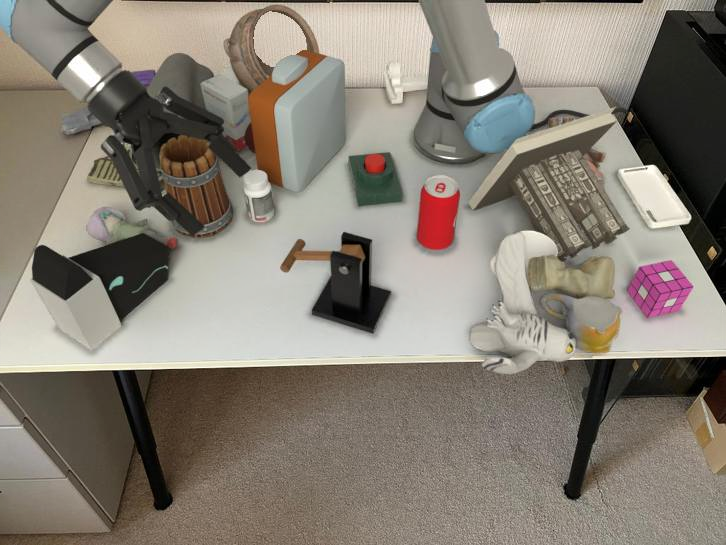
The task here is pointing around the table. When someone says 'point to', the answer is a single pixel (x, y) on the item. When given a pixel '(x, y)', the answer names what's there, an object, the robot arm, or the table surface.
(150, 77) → the handgun
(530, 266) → the sculpture
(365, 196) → the button box
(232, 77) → the toy car
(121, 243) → the decorative object
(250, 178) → the pill bottle
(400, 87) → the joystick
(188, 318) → the table surface
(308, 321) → the table surface
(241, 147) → the ink box
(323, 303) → the bracket
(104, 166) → the pottery shard
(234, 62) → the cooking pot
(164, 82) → the vase
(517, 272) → the toy
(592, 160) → the figurine
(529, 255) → the cup
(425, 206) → the beverage can
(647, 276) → the puzzle toy
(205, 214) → the mug
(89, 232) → the toy
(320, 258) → the lever
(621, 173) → the phone case
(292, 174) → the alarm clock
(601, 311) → the mug
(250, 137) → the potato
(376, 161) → the button
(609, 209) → the building model
